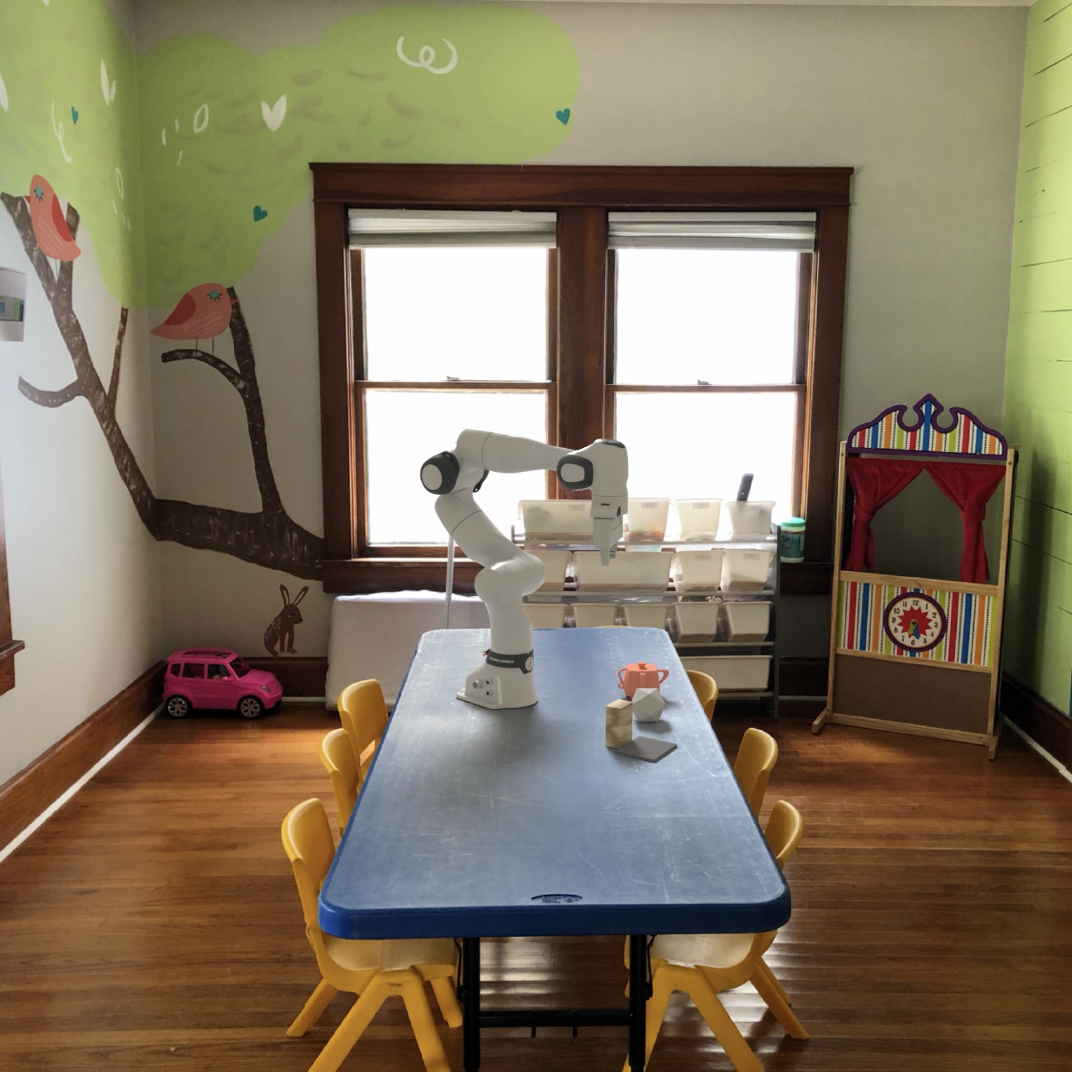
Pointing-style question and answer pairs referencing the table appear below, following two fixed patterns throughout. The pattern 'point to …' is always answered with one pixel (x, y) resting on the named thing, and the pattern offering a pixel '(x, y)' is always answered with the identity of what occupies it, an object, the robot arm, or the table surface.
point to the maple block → (619, 723)
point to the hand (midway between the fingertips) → (608, 561)
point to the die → (648, 704)
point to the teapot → (640, 677)
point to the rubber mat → (646, 749)
